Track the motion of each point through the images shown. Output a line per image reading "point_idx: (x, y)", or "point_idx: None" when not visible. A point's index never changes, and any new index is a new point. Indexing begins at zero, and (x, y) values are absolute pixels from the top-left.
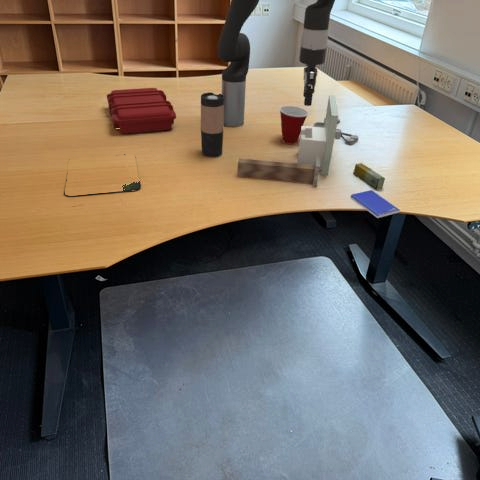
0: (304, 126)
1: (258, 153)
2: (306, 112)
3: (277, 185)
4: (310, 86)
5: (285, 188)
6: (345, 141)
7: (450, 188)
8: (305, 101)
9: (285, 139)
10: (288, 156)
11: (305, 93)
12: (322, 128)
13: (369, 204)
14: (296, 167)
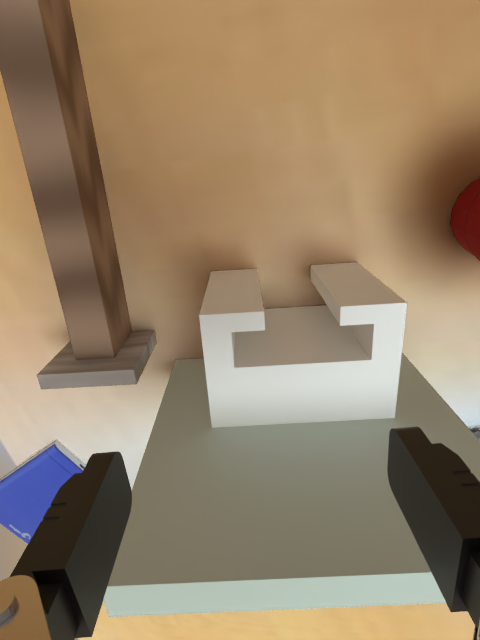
0: (396, 319)
1: (312, 65)
2: None
3: (25, 208)
4: (446, 586)
5: (17, 242)
6: (478, 432)
7: (209, 633)
8: (81, 487)
9: (467, 193)
10: (308, 223)
11: (35, 568)
12: (381, 407)
13: (18, 487)
14: (60, 288)
